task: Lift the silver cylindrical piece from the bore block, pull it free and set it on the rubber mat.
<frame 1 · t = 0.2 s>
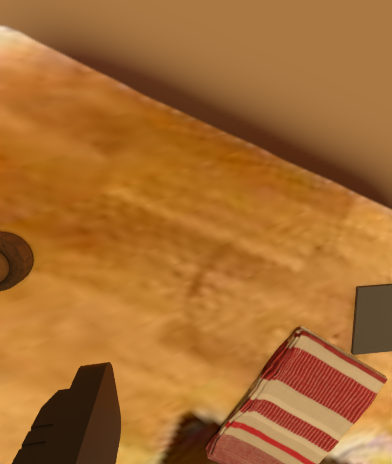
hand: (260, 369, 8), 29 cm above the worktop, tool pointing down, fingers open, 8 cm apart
dish towel: (292, 408, 45), on the worktop
rubber mat: (388, 317, 42), on the worktop
brown upright piece: (5, 257, 36), on the worktop
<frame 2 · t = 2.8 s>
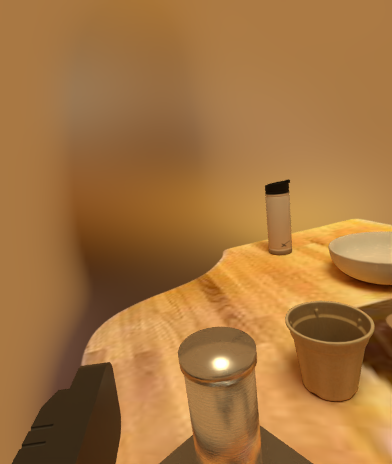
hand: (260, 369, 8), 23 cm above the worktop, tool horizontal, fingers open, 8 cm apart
serving bowl: (383, 276, 64), on the worktop
travel mug: (281, 252, 86), on the worktop
flower pot: (328, 383, 37), on the worktop
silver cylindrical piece: (227, 443, 22), in the bore block
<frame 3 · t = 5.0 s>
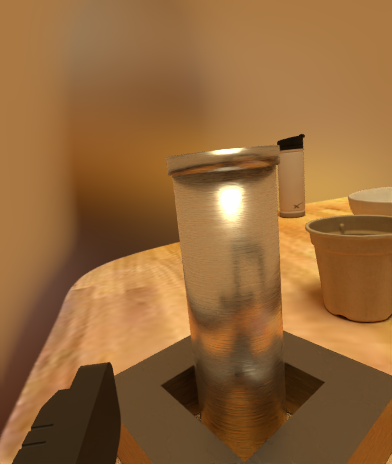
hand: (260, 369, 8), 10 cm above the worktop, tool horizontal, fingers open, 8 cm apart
bore block: (244, 436, 18), on the worktop
travel mug: (293, 216, 80), on the worktop
flower pot: (356, 309, 31), on the worktop
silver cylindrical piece: (234, 309, 16), in the bore block
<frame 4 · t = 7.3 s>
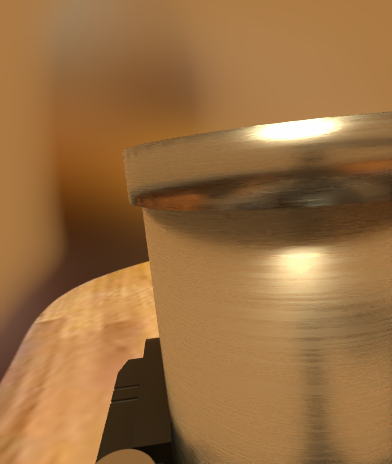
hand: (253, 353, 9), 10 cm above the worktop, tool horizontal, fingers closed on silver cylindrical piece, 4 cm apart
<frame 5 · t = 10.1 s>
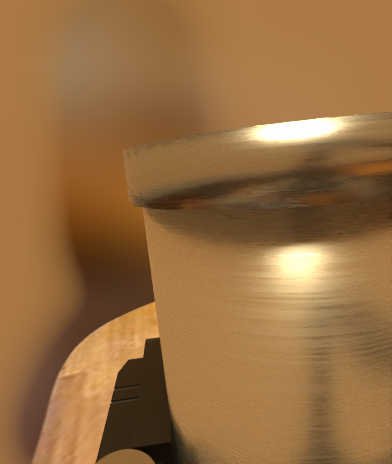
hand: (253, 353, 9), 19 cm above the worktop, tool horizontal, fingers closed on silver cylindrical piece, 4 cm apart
when the fingers open (12 cm above the worktop, at t = 12.9 s): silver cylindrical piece drops 1 cm, resting on rubber mat.
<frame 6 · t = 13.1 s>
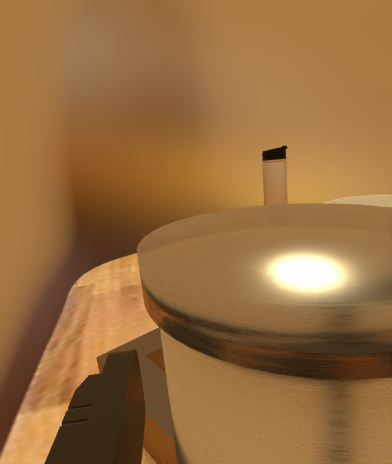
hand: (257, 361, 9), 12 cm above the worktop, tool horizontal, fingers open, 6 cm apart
serving bowl: (377, 234, 64), on the worktop
bore block: (207, 393, 24), on the worktop
travel mug: (277, 220, 86), on the worktop
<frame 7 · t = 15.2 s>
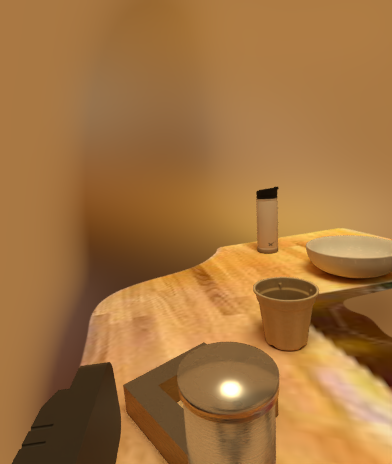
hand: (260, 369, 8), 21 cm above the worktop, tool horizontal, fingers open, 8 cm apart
serving bowl: (351, 272, 74), on the worktop
bore block: (200, 413, 34), on the worktop
travel mug: (268, 251, 96), on the worktop
flower pot: (285, 341, 47), on the worktop
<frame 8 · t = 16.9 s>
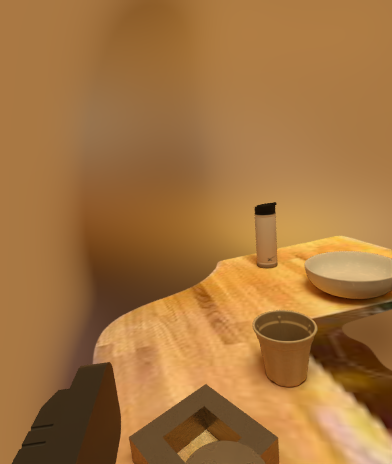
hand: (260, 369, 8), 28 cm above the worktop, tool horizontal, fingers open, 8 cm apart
serving bowl: (350, 290, 75), on the worktop
bore block: (204, 462, 35), on the worktop
travel mug: (267, 265, 97), on the worktop
flower pot: (285, 374, 48), on the worktop
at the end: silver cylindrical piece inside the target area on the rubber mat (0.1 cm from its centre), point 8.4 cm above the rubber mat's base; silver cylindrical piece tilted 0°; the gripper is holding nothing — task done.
